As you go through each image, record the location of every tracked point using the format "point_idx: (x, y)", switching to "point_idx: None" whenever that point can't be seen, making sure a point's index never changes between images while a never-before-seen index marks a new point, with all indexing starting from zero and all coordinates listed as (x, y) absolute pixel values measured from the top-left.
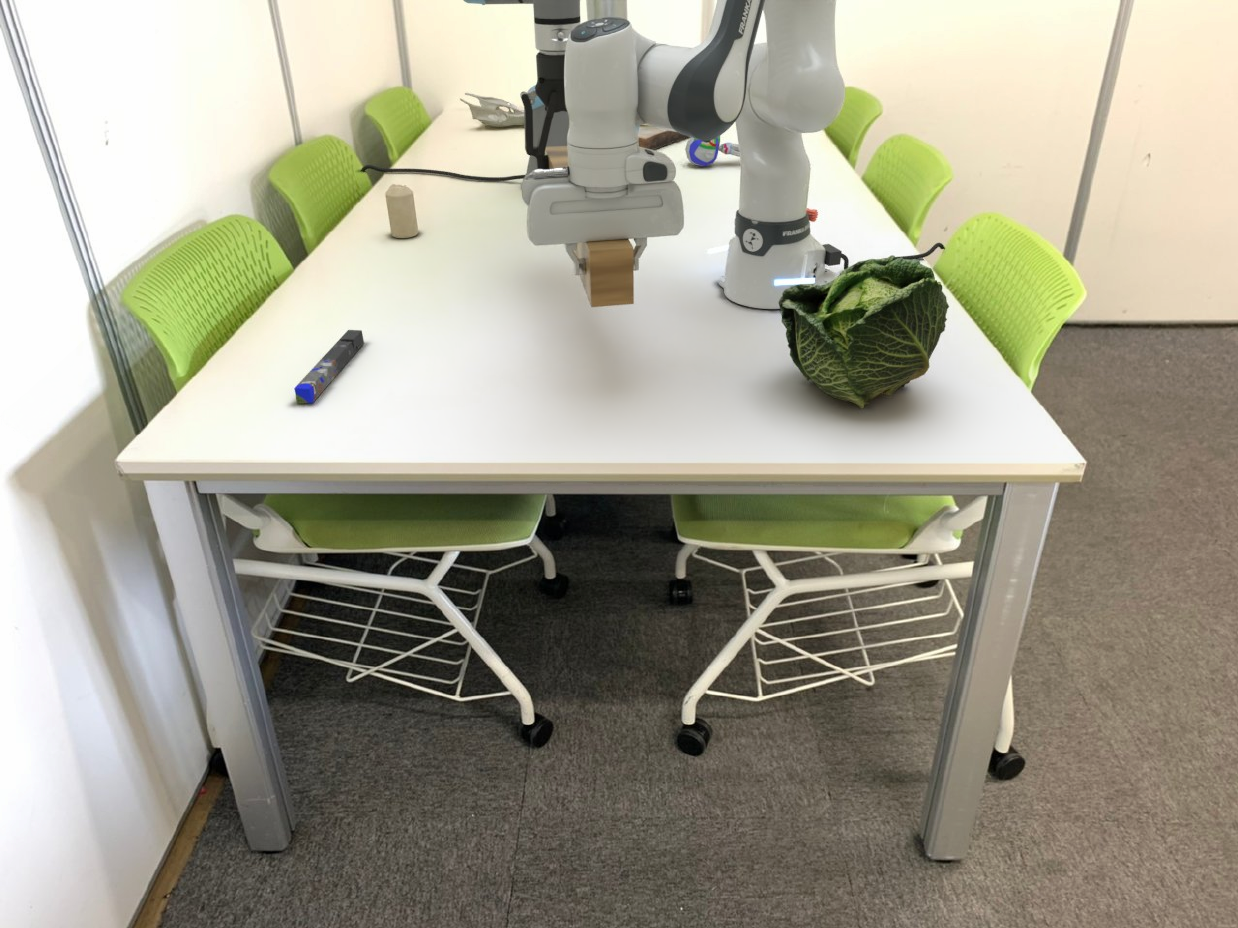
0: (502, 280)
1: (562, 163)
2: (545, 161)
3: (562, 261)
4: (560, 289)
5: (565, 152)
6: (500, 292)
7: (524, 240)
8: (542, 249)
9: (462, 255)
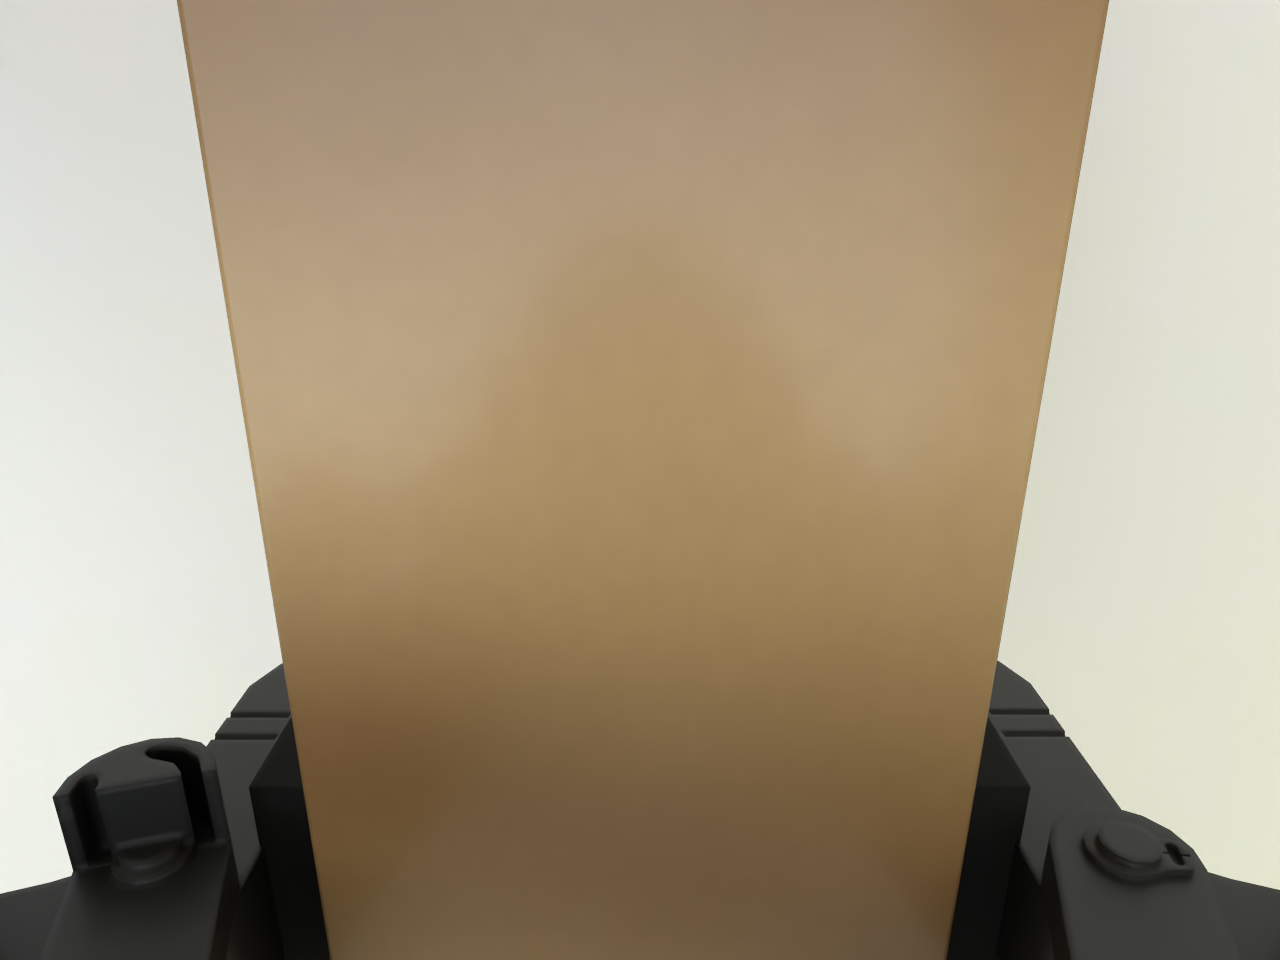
0: None
1: (816, 41)
2: (989, 763)
3: None
4: None
5: (600, 951)
6: (1117, 75)
7: None
8: None
9: (1173, 715)
